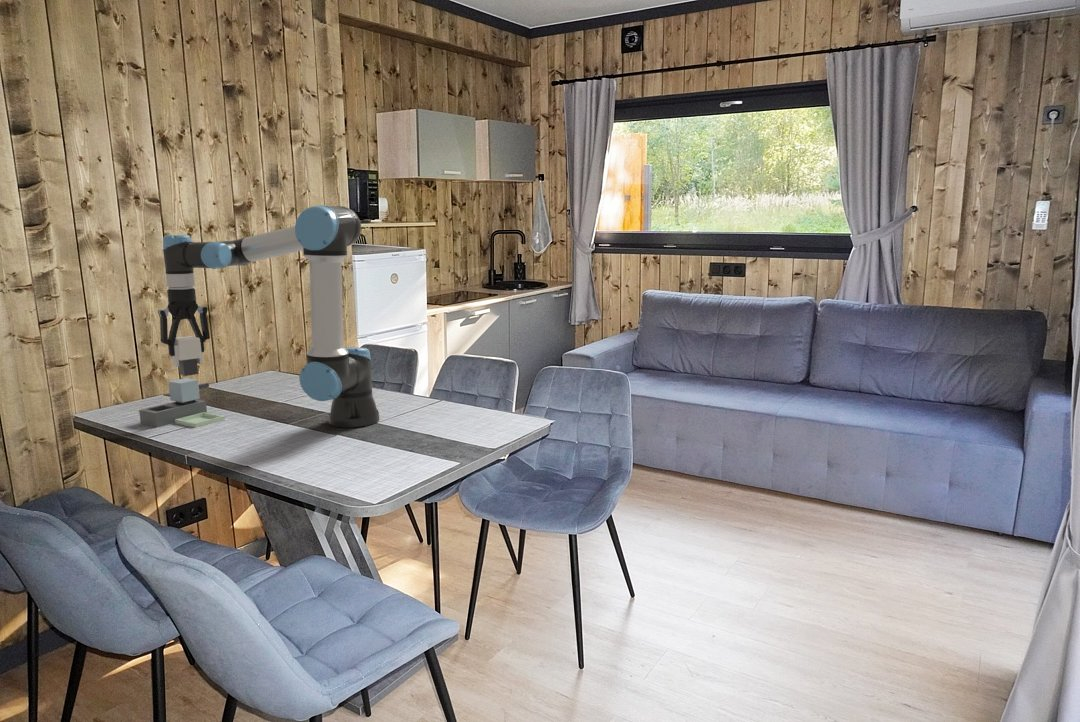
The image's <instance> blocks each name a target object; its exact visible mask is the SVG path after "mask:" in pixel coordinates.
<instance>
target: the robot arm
mask: <svg viewBox="0 0 1080 722" xmlns="http://www.w3.org/2000/svg"><path fill="white" fill-rule="evenodd" d="M361 223H362V222H361V220H360V218H359V216H358V215H357V213H356V212H355V211H354V210H353V209H350V208H349V207H347V206H340V205H339V206H338V205H337V206H336V205H334V206H333V205H315V206H310V207H307V208H305V209H304V210H302V212H301V213H299V215H298V217H297V218H296V220H295V224H294V225H292V226H288V227H284V228H280V229H276V230H272V231H268V232H264V233H260V234H255V235H252V236H247V237H243V238H239V239H234V240H227V241H225V240H224V241H222V240H221V241H220V240H219V241H192V238H191V236H190V235H188V234H169V235H164V236H163V237H162V253H163V260H164V267H165V280H166V281H165V282H166V287H167V290H166V292H167V302H168V305H167V306H166V308H164V309H159V310H157V314H158V316H159V323H160V325H159V326H160V329H159V330H160V343H161V344H164V345H167V347H168V355H169V356H170V357H172V365H173V367H175V368H179V358H178V347H177V345H175V344H174V343H175V339H176V338H177V335H178V334H177V333H178V330H179V325H180V323H181V321H183V320H187V321H188V323H189V325H190V327H191V329H192V331H193V334H194V337H198V338H200V346H201V357H202V356H203V355H202V353H205V342H206V340H210V338H211V336H210V329H209V323H208V316H207V313H208V307H207V306H202V305H199V304H198V303H197V295H196V289H195V288H194V287H195V286H196V283H195V273H194V272H195V271H194V269H195V268H197V269H212V270H215V269H219V270H220V269H225V268H227V267H230V266H231V267H234V266H246V265H249V264H251V263H253V262H257V261H261V260H266V259H270V258H277V257H280V256H284V255H288V254H292V253H297V252H303V256H304V257H305V259H307V260H308V263H309V288H310V289H309V290H310V292H309V295H310V326H311V327H310V329H311V330H310V333H311V335H310V336H311V347H310V348H309V349H308V350H307V351H306V354H305V355H306V356H305V357H306V360H305V362H306V364H304V365H303V367H302V368H301V370H300V371H299V372H300V373H299V375H298V376H299V377H298V378H299V380H298V381H299V384H300V387H301V389H302V390H303V393H305V394H306V395H307V397H309V398H310V399H312V400H315V401H318V402H327V401H330V400H331V401H332V402H331V405H330V412H329V414H328V424H329V425H330V426H332V427H337V428H359V427H366V426H367V427H368V426H370V425H373V424H377V422H380V411H379V409H377V405H376V402H375V399H374V397H373V384H372V383H373V382H372V381H373V380H372V358H371V352H370V350H369V349H368V348H366V347H356V346H353V347H351V346H346V347H345V346H344V337H343V336H344V333H343V332H344V327H343V323H344V321H343V282H342V281H343V279H342V278H343V277H342V276H343V275H342V270H343V269H342V267H343V266H342V264H343V263H342V262H343V261H344V260H345V259H346V258H347V257H348V247H350V246H352V245H353V244H354V243H356V242H357V241H358V239H359V238H360V235H361V232H362V224H361ZM196 312H198V313H199V320H200V327H201V330H200V327H199V324H198V322H197V319H196V316H195V314H196ZM169 313H170V315H171V316H172V318H171V325H170V328H168V316H169ZM168 329H169V335H168ZM197 365H203V357H202V358H197Z"/></svg>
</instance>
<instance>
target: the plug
mask: <svg viewBox="0 0 1080 722" xmlns="http://www.w3.org/2000/svg"><path fill="white" fill-rule="evenodd" d="M174 344H175V345H177V347H178V358H179V367H178V369H179V375H181V376H182V377H183V376H184V377H187V376H197V375H199V369H198V368H199V367H198V365H199V364H198V363H197V358H202V359H203V357H201V353H202V352H201V346H200V338H198V337H196V336H195V335H189V336H180V337H179V336H178V337H177V336H176V339H175V343H174Z"/></svg>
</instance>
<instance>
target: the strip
mask: <svg viewBox="0 0 1080 722" xmlns="http://www.w3.org/2000/svg"><path fill="white" fill-rule="evenodd" d="M209 387H210V383H208V382H205V383H201V384H199V379H195V378H189V377H184V378H179V379H174V380H169V381H168V389H169V399H170V401H172V402H169V403H168V402H167V403H164V404H159V405H154V406H151V407H147V408H143V409H139V410H138V413H139V420H140V425H142V426H147V427H152V428H156V429H157V428H158V429H159V428H161V427H166V426H170V425H172V424H175V419H179V418H183V417H187V416H191V415H194V414H198V413H202V412H205V413H208V411H207V410H208V409H207V401H206V400H201V396H200V390H202V389H207V388H209Z"/></svg>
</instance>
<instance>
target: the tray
mask: <svg viewBox="0 0 1080 722" xmlns="http://www.w3.org/2000/svg"><path fill="white" fill-rule="evenodd" d="M225 419H226V418H225V415H220V414H216V413H210V412H207V413H205V412H202V413H198V414H194V415H191V416H187V417H183V418H179V419H175V423H174V424H176V425H180V426H186V427H190V428H195V429H197V428H200V427H204V426H208V425H212V424H215V423H216V424H217V423H219V422H223V421H226V420H225Z"/></svg>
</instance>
